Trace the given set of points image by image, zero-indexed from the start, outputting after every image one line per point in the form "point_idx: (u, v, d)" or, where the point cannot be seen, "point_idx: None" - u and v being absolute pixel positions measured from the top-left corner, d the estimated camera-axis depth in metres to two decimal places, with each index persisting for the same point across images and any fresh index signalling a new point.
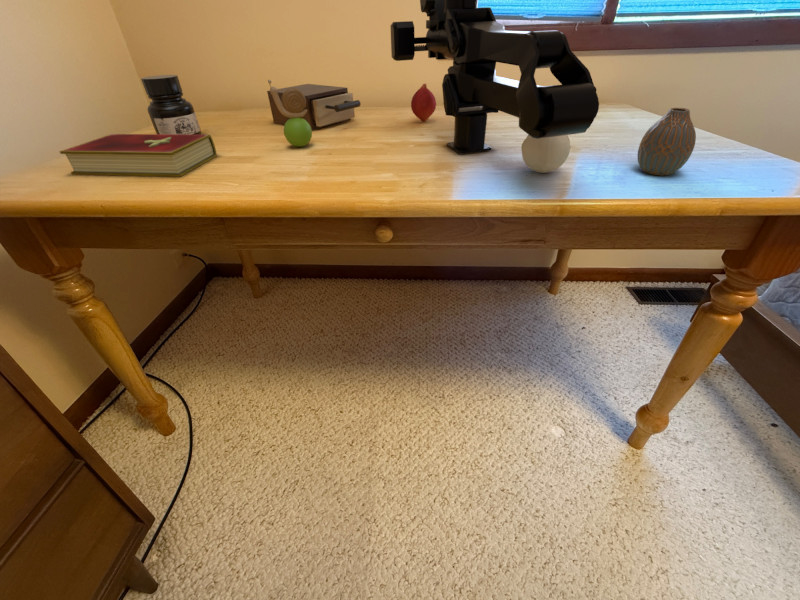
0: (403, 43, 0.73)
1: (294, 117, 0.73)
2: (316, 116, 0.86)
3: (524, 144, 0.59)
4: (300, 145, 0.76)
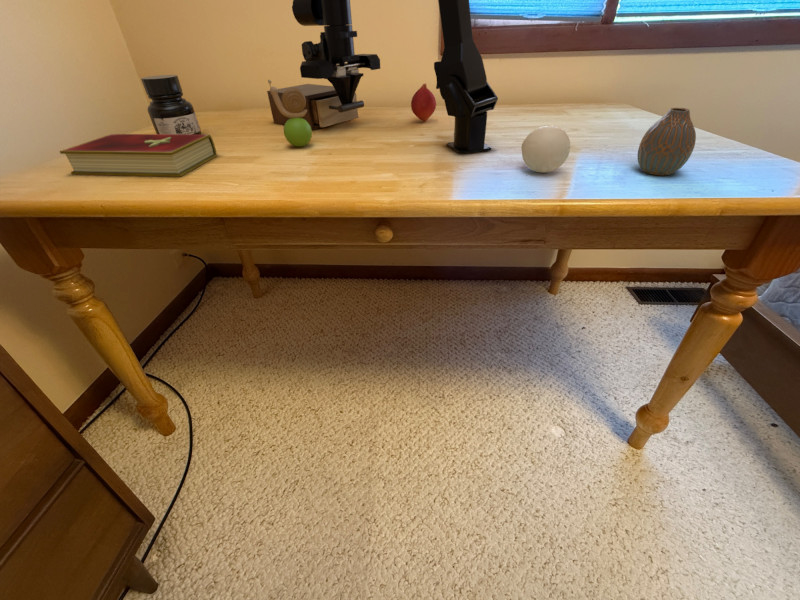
0: (314, 61, 0.76)
1: (294, 117, 0.73)
2: (319, 117, 0.85)
3: (524, 144, 0.59)
4: (300, 145, 0.76)
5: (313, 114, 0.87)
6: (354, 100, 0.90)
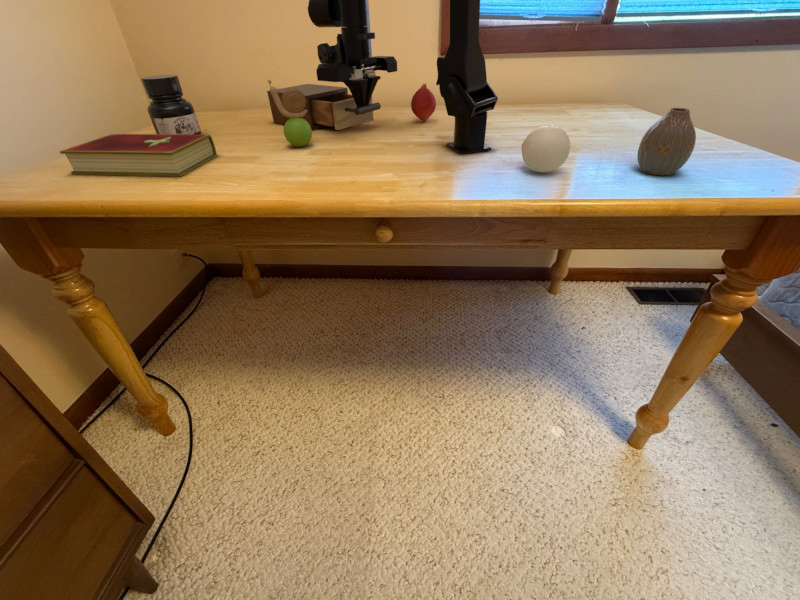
0: (331, 64, 0.73)
1: (294, 117, 0.73)
2: (335, 119, 0.82)
3: (524, 144, 0.59)
4: (300, 145, 0.76)
5: (328, 116, 0.84)
6: (370, 102, 0.88)
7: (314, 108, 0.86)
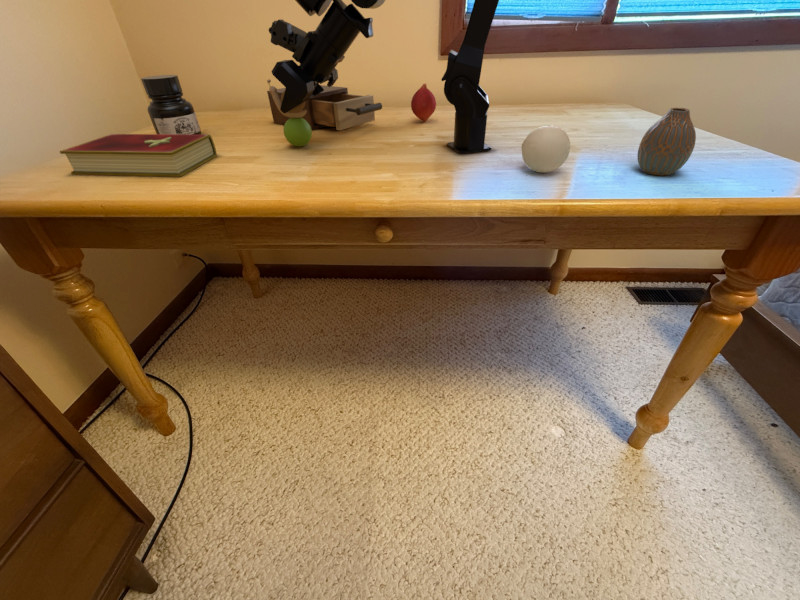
0: (299, 73, 0.62)
1: (293, 117, 0.73)
2: (336, 119, 0.82)
3: (524, 144, 0.59)
4: (298, 145, 0.76)
5: (329, 117, 0.84)
6: (371, 102, 0.87)
7: (315, 109, 0.86)
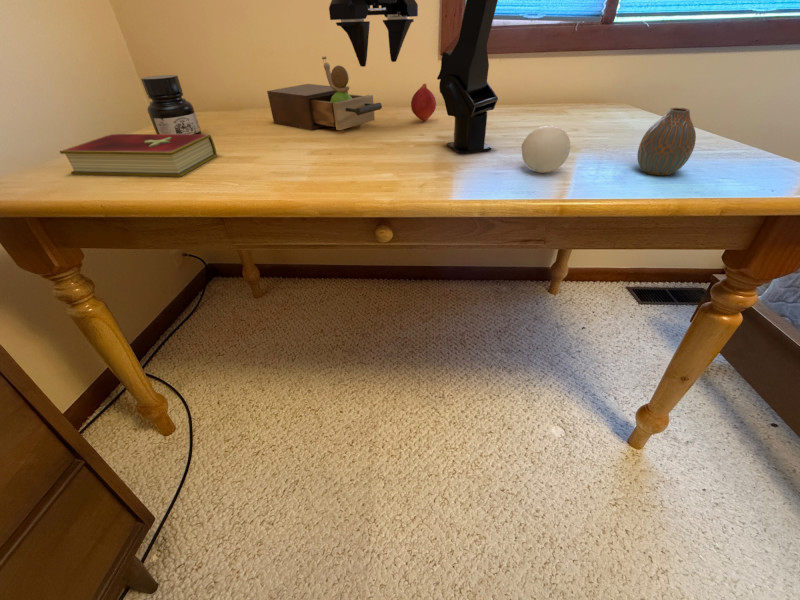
0: None
1: (338, 91, 0.84)
2: (336, 119, 0.82)
3: (524, 144, 0.59)
4: None
5: (329, 117, 0.84)
6: (371, 102, 0.87)
7: (315, 109, 0.86)
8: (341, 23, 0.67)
